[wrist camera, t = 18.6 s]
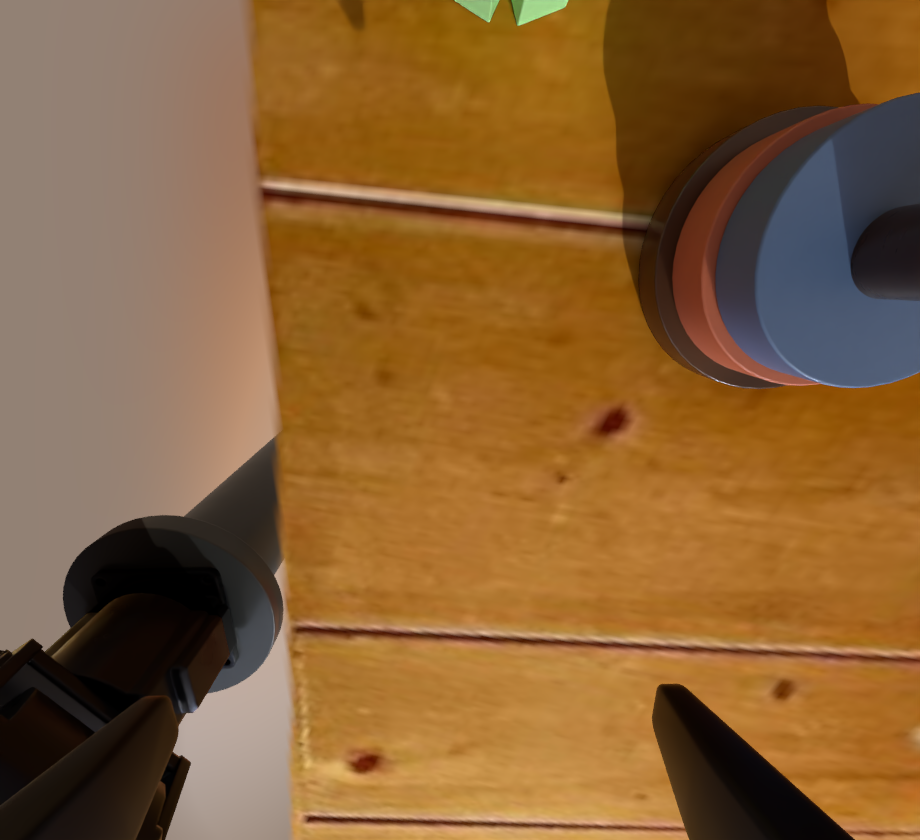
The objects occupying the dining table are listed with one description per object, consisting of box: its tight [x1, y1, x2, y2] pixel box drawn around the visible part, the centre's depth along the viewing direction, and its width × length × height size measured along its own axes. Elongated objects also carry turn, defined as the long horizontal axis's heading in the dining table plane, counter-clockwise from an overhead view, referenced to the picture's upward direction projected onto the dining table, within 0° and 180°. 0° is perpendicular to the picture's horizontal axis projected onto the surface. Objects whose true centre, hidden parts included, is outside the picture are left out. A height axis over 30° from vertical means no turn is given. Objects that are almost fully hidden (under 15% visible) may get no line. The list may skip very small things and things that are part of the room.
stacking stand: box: [639, 93, 920, 389], centre depth 13 cm, size 10×10×10 cm
